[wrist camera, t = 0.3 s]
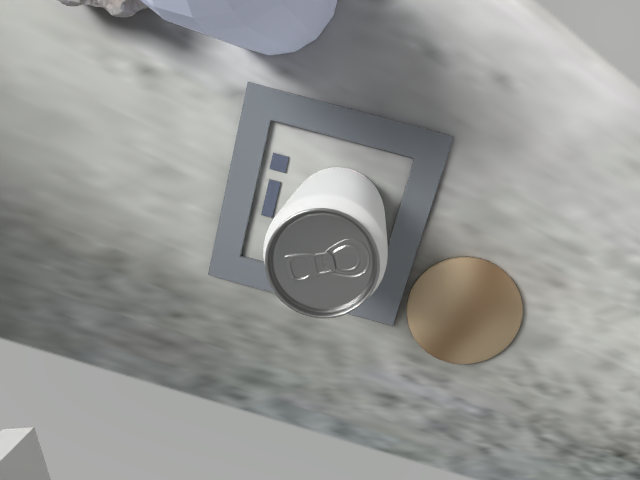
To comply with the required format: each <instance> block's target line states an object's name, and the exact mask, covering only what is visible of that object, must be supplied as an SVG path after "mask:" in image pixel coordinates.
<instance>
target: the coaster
mask: <svg viewBox="0 0 640 480" xmlns="http://www.w3.org/2000/svg"><path fill="white" fill-rule="evenodd" d="M522 316H523V305H522V299H521V295H520V293H519V290H518V288H517V286H516V285H515V283H514V282H513V280H512V279H511V278H510V277H509V275H508V274H507V273H506V272H505V271H504V270H503V269H501V268H500V267H498V266H497V265H495V264H494V263H492V262H490V261H487V260H484V259H481V258H476V257H467V256H465V257H454V258H450V259H446V260H443V261H441V262H439V263H436V264H435V265H433V266H431V267H430V268H429V269H427V270H426V271H425V272H424V273H423V274H422V275H421V276H420V277H419V278H418V279H417V281H416V282H415V283H414V285H413V287H412V289H411V291H410V294H409V297H408V301H407V319H408V324H409V327H410V330H411V333H412V335H413V337H414V338H415V340H416V341H417V343H418V344H419V345H420V346H421V347H422V348H423V349H424V350H425V351H426V352H428V353H429V354H431V355H432V356H434V357H436V358H438V359H440V360H443V361H446V362H450V363H456V364H471V363H477V362H481V361H484V360H487V359H489V358H491V357H493V356H495V355H497V354H498V353H500V352H501V351H503V350H504V349H505V348H506V347H507V346H508V345H509V344H510V343H511V341H512V340H513V339H514V337H515V336H516V334H517V332H518V330H519V328H520V325H521V322H522Z"/></svg>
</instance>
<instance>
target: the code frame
mask: <svg viewBox="0 0 640 480" xmlns="http://www.w3.org/2000/svg"><path fill="white" fill-rule="evenodd" d="M271 120H274V121H277V122H281V123H285V124H288V125H292V126H296V127H300V128H303V129H307V130H311V131H314V132H318V133H322V134H326V135H329V136H333V137H337V138H341V139H344V140H348V141H352V142H355V143H359V144H363V145H367V146H370V147H374V148H378V149H382V150H385V151H389V152H393V153H396V154H400V155H404V156H408V157H411V158H414V161H413V164H412V168H411V171H410V174H409V178H408V181H407V184H406V187H405V191H404V194H403V197H402V200H401V204H400V207H399V210H398V214H397V217H396V220H395V223H394V227H393V230H392V233H391V236H390V240H389V243H388V258H387V265H386V269H385V273H384V276H383V278H382V280H381V282H380V284H379V286H378V287H377V289H376V290H375V291H374V293H373V294H372V295H371V296H370V297H369V298H368V299H367V300H366V301H365V302H364V303H363V304H362V305H361V306H359V307H358V308H357V309H355V310H353V311H352V312H350V313H348V314H352V315H355V316H359V317H362V318H366V319H370V320H373V321H377V322H380V323H384V324H388V325H391V326H393V323H394V320H395V317H396V314H397V311H398V308H399V305H400V302H401V298H402V295H403V292H404V289H405V286H406V283H407V280H408V277H409V274H410V271H411V267H412V264H413V261H414V258H415V255H416V252H417V249H418V246H419V243H420V240H421V237H422V233H423V230H424V227H425V224H426V221H427V218H428V215H429V212H430V209H431V206H432V202H433V199H434V196H435V193H436V190H437V187H438V184H439V181H440V178H441V175H442V171H443V168H444V165H445V162H446V159H447V156H448V153H449V150H450V147H451V144H452V141H453V136H450V135H446V134H443V133H439V132H435V131H431V130H428V129H424V128H420V127H416V126H413V125H409V124H405V123H401V122H398V121H394V120H390V119H386V118H383V117H379V116H375V115H371V114H368V113H364V112H360V111H356V110H353V109H349V108H345V107H341V106H338V105H334V104H330V103H326V102H323V101H319V100H315V99H311V98H308V97H304V96H300V95H296V94H293V93H289V92H285V91H281V90H278V89H274V88H270V87H266V86H263V85H259V84H255V83H251V82H248V83H247V88H246V93H245V98H244V103H243V107H242V112H241V117H240V122H239V127H238V132H237V136H236V141H235V146H234V151H233V156H232V161H231V166H230V170H229V175H228V180H227V185H226V190H225V195H224V200H223V204H222V209H221V214H220V219H219V224H218V229H217V234H216V238H215V243H214V248H213V253H212V258H211V263H210V268H209V272H208V275H211V276H215V277H218V278H222V279H225V280H229V281H233V282H236V283H240V284H243V285H247V286H251V287H254V288H258V289H261V290H265V291H269V292H272V293H275V292H274V291H273V289H272V287H271V286H270V283H269V281H268V278H267V275H266V270H265V264H264V261H260V260H256V259H253V258H249V257H246V256H242V255H241V253H242V249H243V244H244V240H245V235H246V231H247V226H248V222H249V218H250V213H251V209H252V204H253V200H254V195H255V191H256V186H257V182H258V177H259V173H260V168H261V164H262V159H263V155H264V150H265V146H266V141H267V137H268V132H269V128H270V123H271ZM288 159H289V157H287V156H284V155H280V154H276V153H273V156H272V161H271V165H270V169H274V170H277V171H281V172H285V171H286V167H287V163H288ZM280 183H281V182H278V181H275V180H271V179H269V183H268V188H267V192H266V196H265V201H264V205H263V210H262V214H261V215H264V216H268V217H273V213H274V209H275V205H276V200H277V196H278V192H279V188H280Z"/></svg>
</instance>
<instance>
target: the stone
mask: <svg viewBox="0 0 640 480" xmlns="http://www.w3.org/2000/svg"><path fill="white" fill-rule="evenodd" d="M58 1H60V2H61V3H62V4H65V5H67V6H79V5H90V6H93V7H102V8H104V9H106V10H107V11H108V12H109V13H110V14H111V15H112V16H115V17H124V18H126V17H130V16H133V15H134V14H135V13H136V12H138V11H139V10H141V9H146V8H149V7H148V6H147V5H145V4H144V3H143V2H142V1H141V0H58Z"/></svg>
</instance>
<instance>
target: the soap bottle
mask: <svg viewBox="0 0 640 480" xmlns="http://www.w3.org/2000/svg"><path fill="white" fill-rule="evenodd" d="M141 1H142V2H143V3H144V4H145V5H147V6H148V7H149V8H150V9H152V10H153V11H154V12H155V13H157V14H158V15H159V16H160V17H162V18H163V19H164V20H165V21H168V22H171V23H174V24H177V25H179V26H182V27H185V28H188V29H191V30H194V31H196V32H199V33H202V34H205V35H208V36H211V37H213V38H216V39H219V40H222V41H225V42H228V43H230V44H233V45H236V46H239V47H242V48H245V49H248V50H252V51H255V52H258V53H262V54H265V55H269V56H270V55H277V54H284V53H292V52H296V51H297V50H299V49H301V48H302V47H304V46H305V45H307V44H309V43H310V42H312V41H314V40H315V39H317V38H318V36H319V35H320V34H321V32H322V31H323V30H324V28H325V27H326V25H327V24H328V23H329V21H330V20H331V19H332V17H333V16H334V12H335V8H336V5H337V1H338V0H141Z"/></svg>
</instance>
